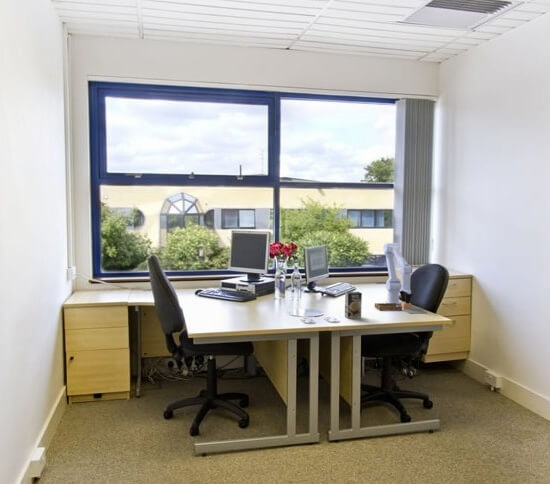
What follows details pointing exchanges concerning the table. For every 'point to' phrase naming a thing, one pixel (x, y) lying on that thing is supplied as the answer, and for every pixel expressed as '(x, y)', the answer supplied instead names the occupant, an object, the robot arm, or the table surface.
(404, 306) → the block
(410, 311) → the mat
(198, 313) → the table surface
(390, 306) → the cubby
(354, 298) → the coffee box
